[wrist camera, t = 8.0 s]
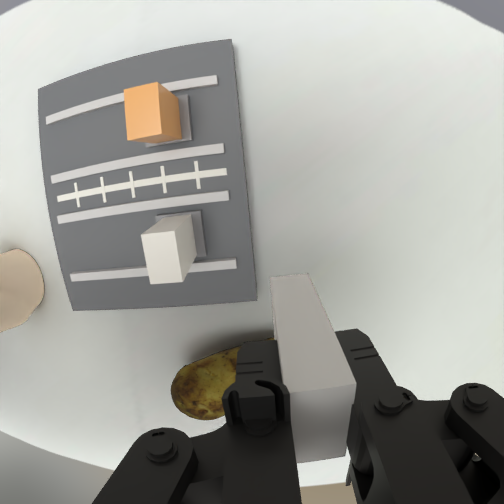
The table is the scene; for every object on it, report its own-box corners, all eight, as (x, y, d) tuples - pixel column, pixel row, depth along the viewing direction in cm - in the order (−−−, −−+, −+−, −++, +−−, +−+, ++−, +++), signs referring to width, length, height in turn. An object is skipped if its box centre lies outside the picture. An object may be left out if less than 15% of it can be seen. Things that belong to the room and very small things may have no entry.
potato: (291, 385, 35) (299, 434, 28) (183, 382, 35) (170, 430, 27) (298, 326, 33) (310, 372, 25) (176, 323, 33) (158, 368, 25)
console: (80, 302, 32) (70, 313, 29) (48, 91, 25) (34, 88, 22) (256, 291, 32) (257, 303, 29) (232, 46, 25) (231, 36, 22)
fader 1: (148, 147, 25) (117, 145, 19) (144, 104, 24) (112, 89, 18) (193, 140, 25) (174, 134, 19) (189, 96, 24) (169, 76, 17)
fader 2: (164, 257, 28) (140, 287, 22) (157, 214, 27) (129, 233, 20) (207, 253, 28) (194, 283, 21) (201, 209, 27) (185, 226, 20)
